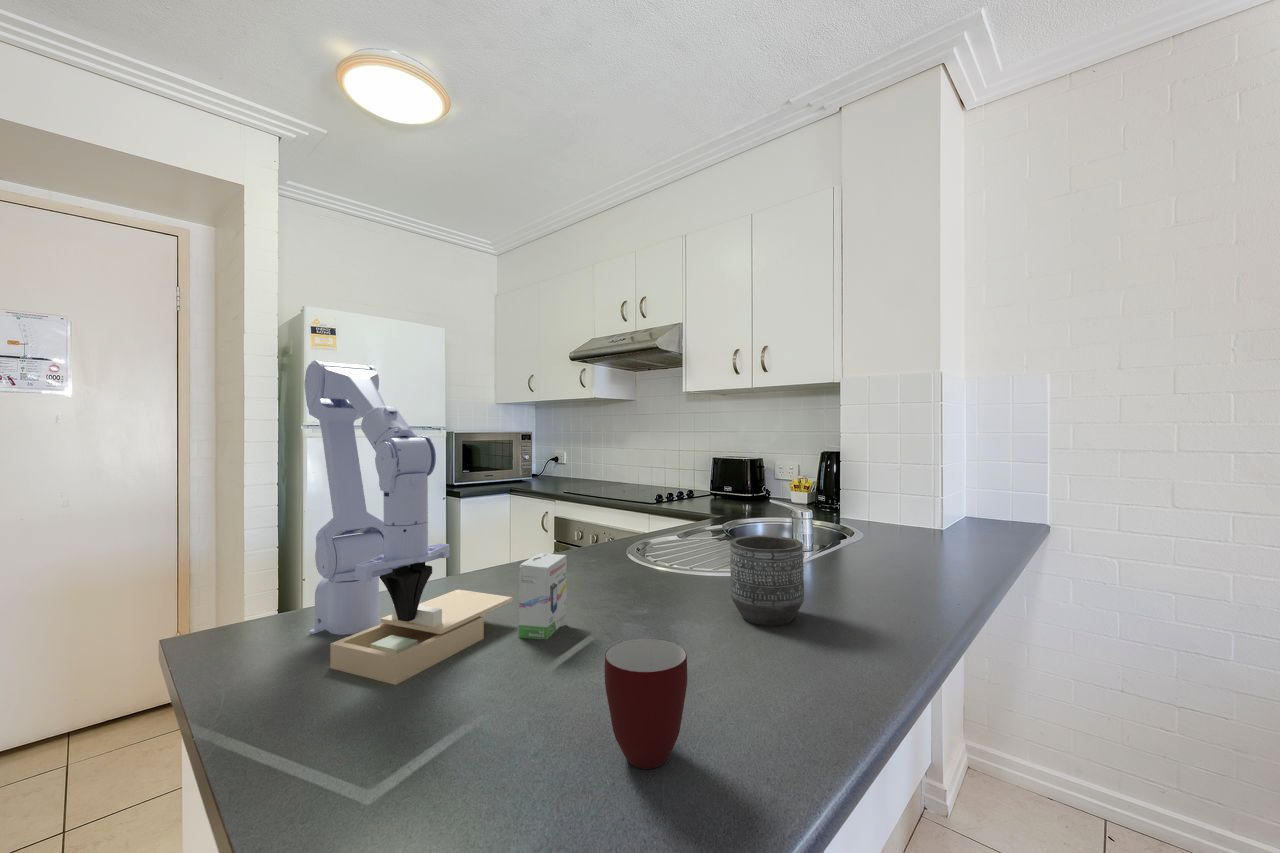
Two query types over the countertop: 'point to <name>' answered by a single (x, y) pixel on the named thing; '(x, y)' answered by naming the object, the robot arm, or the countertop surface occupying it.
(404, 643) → the soap bar
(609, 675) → the mug
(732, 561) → the planter
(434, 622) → the mailer lid
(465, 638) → the tray
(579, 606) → the countertop surface
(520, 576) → the ink box
